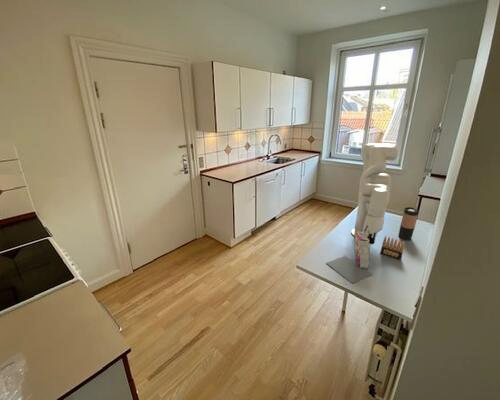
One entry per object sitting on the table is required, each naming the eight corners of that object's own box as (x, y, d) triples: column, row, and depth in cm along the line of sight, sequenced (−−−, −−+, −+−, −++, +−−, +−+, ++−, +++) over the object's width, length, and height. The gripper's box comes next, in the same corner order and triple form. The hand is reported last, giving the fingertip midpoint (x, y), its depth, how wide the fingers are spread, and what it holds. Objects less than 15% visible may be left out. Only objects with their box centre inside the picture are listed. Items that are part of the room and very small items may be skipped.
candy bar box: (354, 257, 138) (354, 231, 133) (364, 257, 137) (364, 230, 132) (359, 268, 127) (359, 240, 123) (369, 268, 126) (370, 240, 122)
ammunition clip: (401, 259, 136) (406, 240, 131) (400, 260, 134) (405, 242, 130) (380, 252, 142) (384, 234, 138) (379, 253, 141) (383, 236, 136)
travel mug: (398, 239, 155) (405, 211, 147) (397, 233, 161) (403, 206, 154) (412, 241, 152) (420, 213, 145) (410, 235, 159) (417, 208, 151)
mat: (344, 256, 139) (345, 255, 139) (372, 274, 124) (372, 273, 124) (326, 263, 133) (326, 262, 133) (352, 283, 118) (352, 282, 118)
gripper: (379, 206, 129) (373, 236, 136) (360, 212, 123) (355, 243, 129) (392, 211, 123) (386, 242, 129) (373, 217, 116) (366, 250, 123)
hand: (370, 242), depth 129 cm, fingers closed
